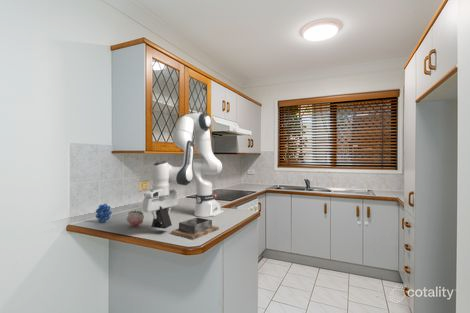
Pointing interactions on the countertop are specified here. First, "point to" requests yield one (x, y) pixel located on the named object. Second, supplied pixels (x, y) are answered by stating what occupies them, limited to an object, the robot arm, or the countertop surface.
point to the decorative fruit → (135, 218)
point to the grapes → (103, 213)
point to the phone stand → (162, 219)
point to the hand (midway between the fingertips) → (161, 217)
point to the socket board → (195, 228)
